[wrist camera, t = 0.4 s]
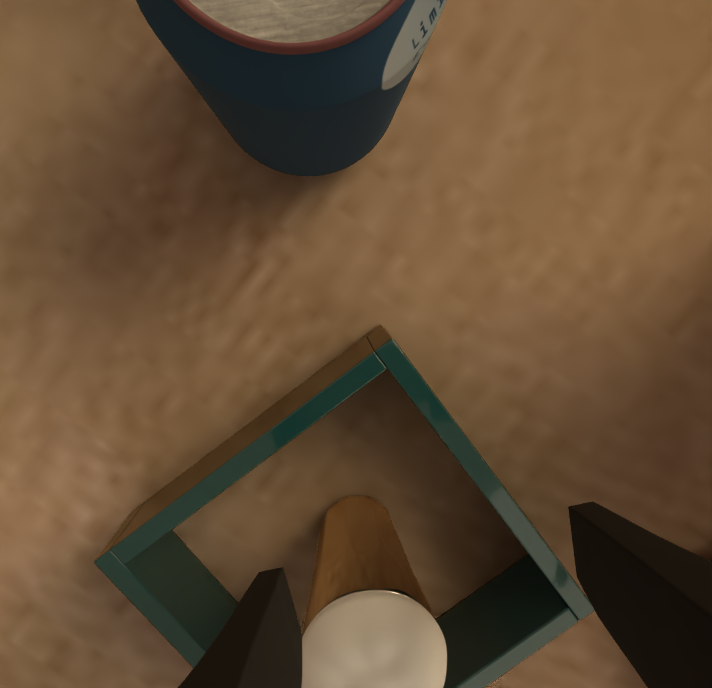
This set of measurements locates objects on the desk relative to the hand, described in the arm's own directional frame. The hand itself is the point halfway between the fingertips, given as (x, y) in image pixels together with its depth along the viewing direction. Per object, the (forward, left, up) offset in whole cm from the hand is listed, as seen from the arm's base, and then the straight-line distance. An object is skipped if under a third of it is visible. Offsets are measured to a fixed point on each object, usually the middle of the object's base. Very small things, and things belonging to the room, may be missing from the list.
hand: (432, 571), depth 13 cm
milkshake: (-4, -3, -11) cm, 12 cm away
